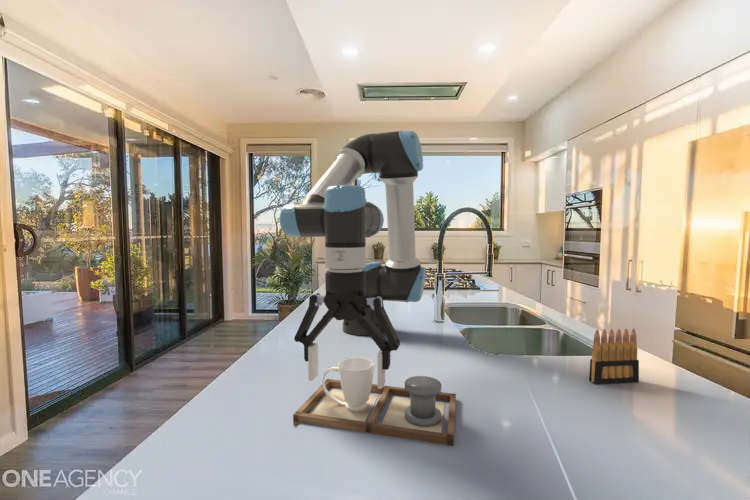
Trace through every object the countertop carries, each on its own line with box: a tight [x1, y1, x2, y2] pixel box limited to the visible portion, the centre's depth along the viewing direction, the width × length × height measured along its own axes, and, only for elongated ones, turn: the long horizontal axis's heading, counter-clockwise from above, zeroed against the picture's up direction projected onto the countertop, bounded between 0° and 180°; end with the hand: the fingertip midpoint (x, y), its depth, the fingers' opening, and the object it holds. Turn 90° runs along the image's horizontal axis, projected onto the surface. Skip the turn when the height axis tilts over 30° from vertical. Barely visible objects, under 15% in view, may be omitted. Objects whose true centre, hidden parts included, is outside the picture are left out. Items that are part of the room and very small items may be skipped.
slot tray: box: [292, 378, 457, 447], centre depth 62 cm, size 15×27×2 cm, turn 75°
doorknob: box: [404, 375, 442, 427], centre depth 60 cm, size 6×6×6 cm
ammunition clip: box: [588, 328, 640, 386], centre depth 76 cm, size 11×2×12 cm, turn 96°
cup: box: [321, 356, 376, 412], centre depth 64 cm, size 7×10×8 cm
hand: (346, 381), depth 64 cm, fingers open, 13 cm apart
